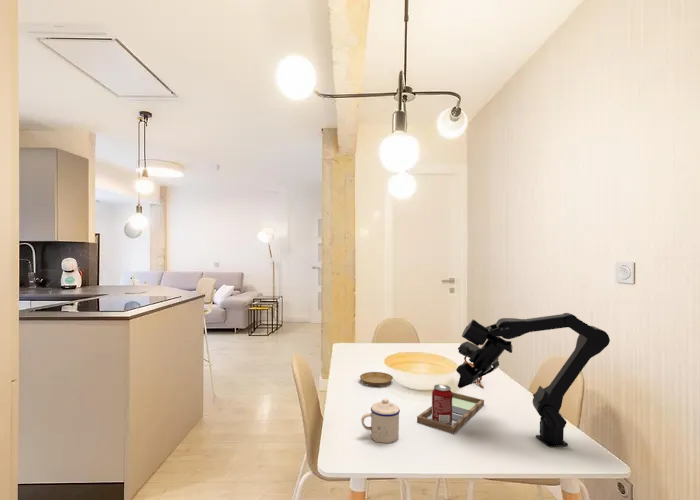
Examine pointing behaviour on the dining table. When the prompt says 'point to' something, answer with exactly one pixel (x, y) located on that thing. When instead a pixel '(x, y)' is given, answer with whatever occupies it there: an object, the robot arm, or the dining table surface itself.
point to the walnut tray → (452, 429)
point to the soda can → (442, 404)
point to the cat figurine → (473, 366)
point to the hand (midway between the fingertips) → (465, 382)
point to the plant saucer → (376, 378)
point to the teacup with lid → (383, 421)
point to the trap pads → (458, 411)
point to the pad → (462, 404)
